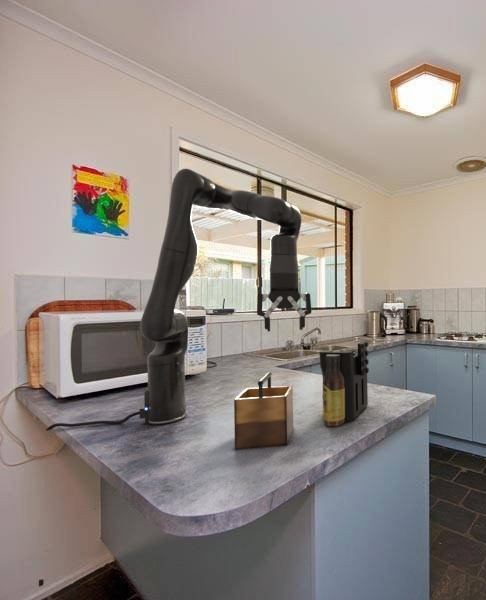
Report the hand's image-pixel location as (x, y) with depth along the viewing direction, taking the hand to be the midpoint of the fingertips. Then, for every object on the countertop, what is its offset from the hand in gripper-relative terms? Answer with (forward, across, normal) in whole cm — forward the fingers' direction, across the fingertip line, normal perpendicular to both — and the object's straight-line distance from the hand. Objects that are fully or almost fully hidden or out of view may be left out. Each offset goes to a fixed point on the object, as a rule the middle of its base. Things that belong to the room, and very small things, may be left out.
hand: (285, 330), depth 91 cm
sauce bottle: (+27, -13, +3) cm, 30 cm away
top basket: (+21, +5, +6) cm, 23 cm away
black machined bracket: (+27, -20, -5) cm, 34 cm away
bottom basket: (+27, +5, +6) cm, 28 cm away
